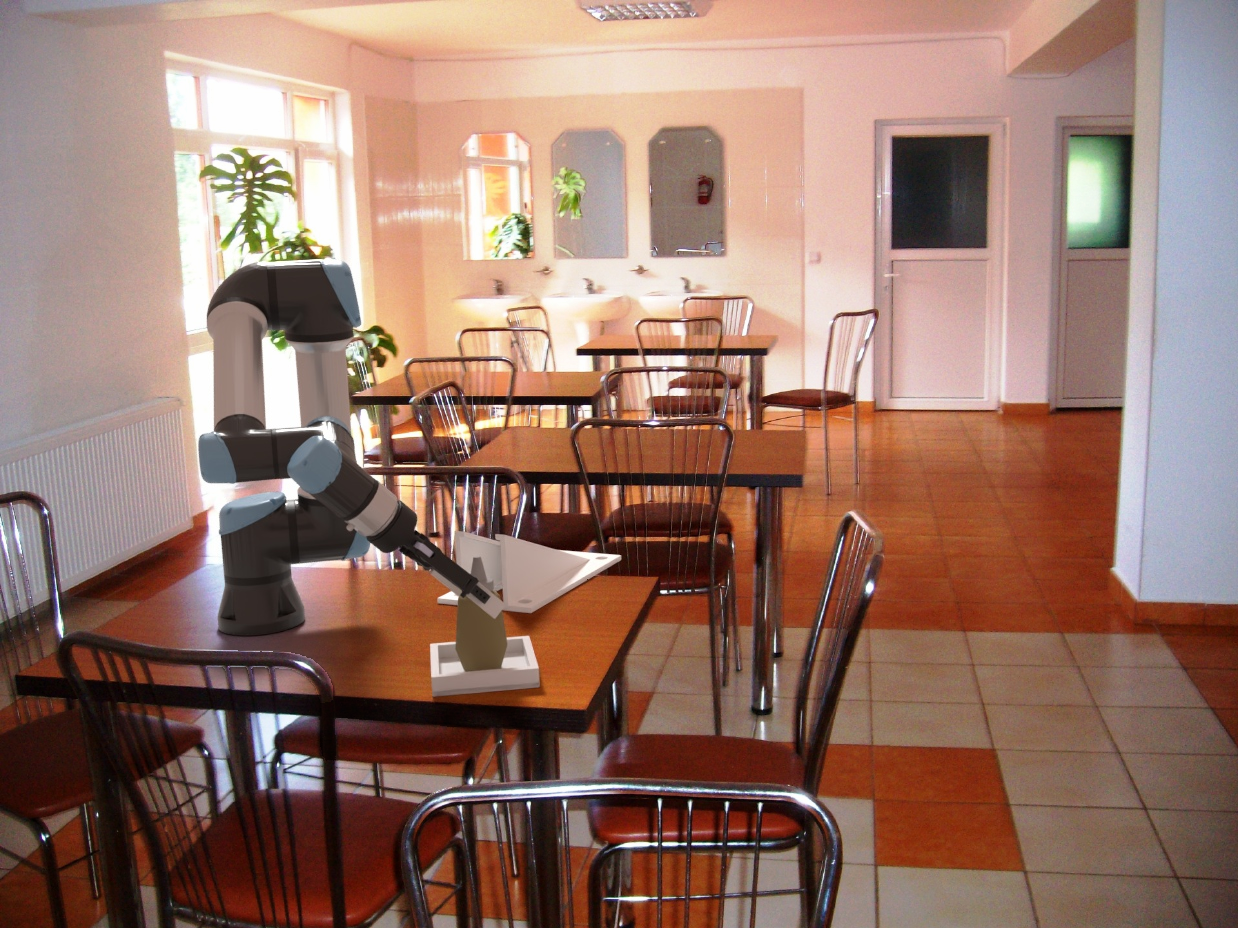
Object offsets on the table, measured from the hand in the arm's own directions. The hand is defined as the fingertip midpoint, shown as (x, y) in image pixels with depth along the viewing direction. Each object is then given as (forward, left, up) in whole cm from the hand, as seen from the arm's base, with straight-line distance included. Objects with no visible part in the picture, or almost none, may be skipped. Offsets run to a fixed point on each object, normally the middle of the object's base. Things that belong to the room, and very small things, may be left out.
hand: (481, 600), depth 185 cm
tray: (0, 0, -12) cm, 12 cm away
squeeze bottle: (0, 0, -11) cm, 11 cm away
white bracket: (+2, +36, -5) cm, 36 cm away
